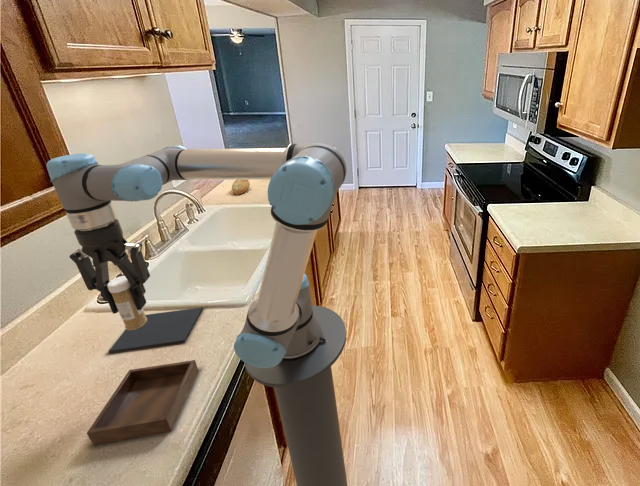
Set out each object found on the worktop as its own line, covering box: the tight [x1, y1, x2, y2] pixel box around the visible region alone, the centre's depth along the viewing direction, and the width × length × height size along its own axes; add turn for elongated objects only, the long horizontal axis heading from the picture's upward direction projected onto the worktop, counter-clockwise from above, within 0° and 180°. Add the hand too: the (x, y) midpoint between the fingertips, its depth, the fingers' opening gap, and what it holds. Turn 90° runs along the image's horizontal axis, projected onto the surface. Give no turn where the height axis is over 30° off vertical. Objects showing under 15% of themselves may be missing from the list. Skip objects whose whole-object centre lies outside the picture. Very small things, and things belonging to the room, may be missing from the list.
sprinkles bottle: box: [107, 275, 147, 330], centre depth 80 cm, size 5×5×14 cm
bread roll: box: [231, 180, 251, 195], centre depth 209 cm, size 10×15×8 cm, turn 8°
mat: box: [108, 307, 204, 354], centre depth 102 cm, size 20×14×1 cm
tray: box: [86, 359, 199, 446], centre depth 79 cm, size 16×16×4 cm
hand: (130, 307), depth 81 cm, fingers closed on sprinkles bottle, 5 cm apart
